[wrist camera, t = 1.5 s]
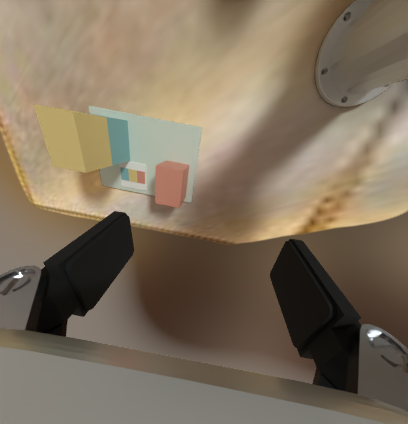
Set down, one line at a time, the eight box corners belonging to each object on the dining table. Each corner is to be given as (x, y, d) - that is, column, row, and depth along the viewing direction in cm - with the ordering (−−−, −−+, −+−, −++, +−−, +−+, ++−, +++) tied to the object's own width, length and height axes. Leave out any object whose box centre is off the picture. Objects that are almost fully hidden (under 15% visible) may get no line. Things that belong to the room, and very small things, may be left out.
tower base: (102, 115, 29) (33, 104, 18) (127, 120, 29) (72, 112, 18) (107, 156, 32) (52, 166, 22) (130, 160, 32) (86, 172, 21)
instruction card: (119, 159, 32) (118, 159, 32) (146, 164, 32) (145, 164, 32) (121, 185, 35) (121, 185, 35) (146, 190, 35) (145, 190, 35)
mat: (90, 105, 28) (88, 105, 28) (202, 127, 28) (201, 127, 28) (103, 184, 36) (102, 185, 36) (191, 202, 36) (191, 202, 35)
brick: (166, 160, 31) (155, 165, 26) (189, 164, 31) (183, 170, 26) (165, 192, 35) (155, 203, 30) (185, 197, 35) (179, 208, 30)
